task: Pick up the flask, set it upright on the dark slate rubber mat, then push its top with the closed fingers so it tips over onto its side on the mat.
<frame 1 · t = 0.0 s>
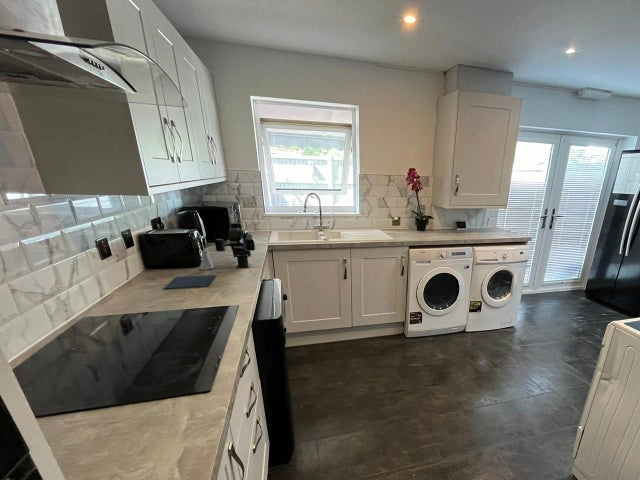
hand: (233, 248, 165), 17 cm above the worktop, tool horizontal, fingers open, 9 cm apart
flask: (207, 268, 186), on the worktop
mat: (191, 282, 163), on the worktop
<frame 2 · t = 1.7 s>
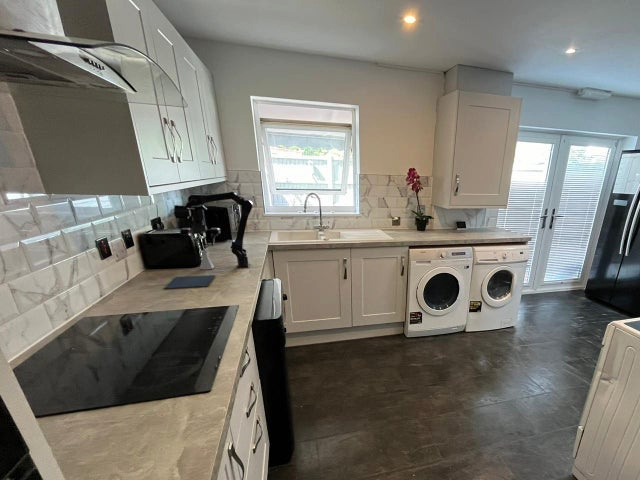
hand: (203, 246, 182), 13 cm above the worktop, tool pointing down, fingers open, 9 cm apart
nothing on the worktop moved.
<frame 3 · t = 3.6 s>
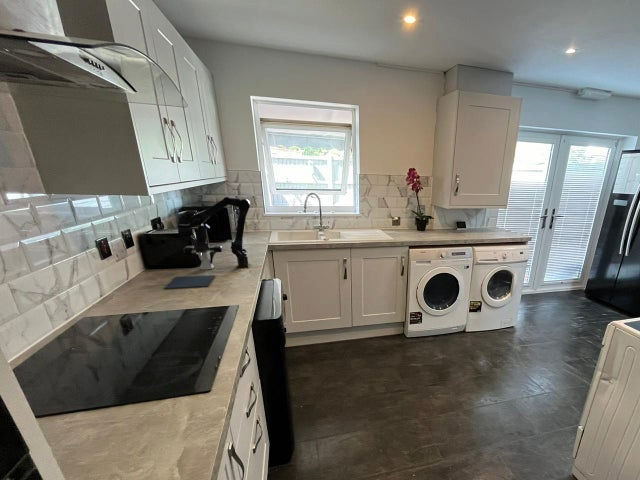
hand: (206, 263, 185), 3 cm above the worktop, tool pointing down, fingers closed on flask, 5 cm apart
flask: (207, 268, 186), on the worktop, touching gripper
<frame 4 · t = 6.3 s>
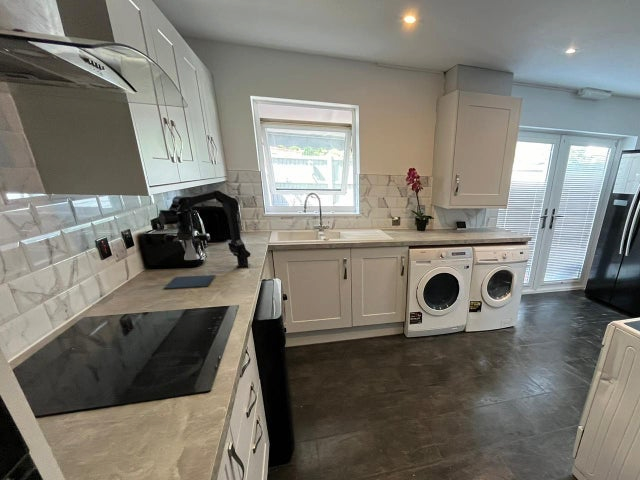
hand: (191, 254, 165), 13 cm above the worktop, tool pointing down, fingers closed on flask, 5 cm apart
flask: (192, 259, 166), point 10 cm above the worktop, touching gripper
when the fingers open (3 cm above the worktop, at t = 9.3 s): flask stays where it is, resting on mat.
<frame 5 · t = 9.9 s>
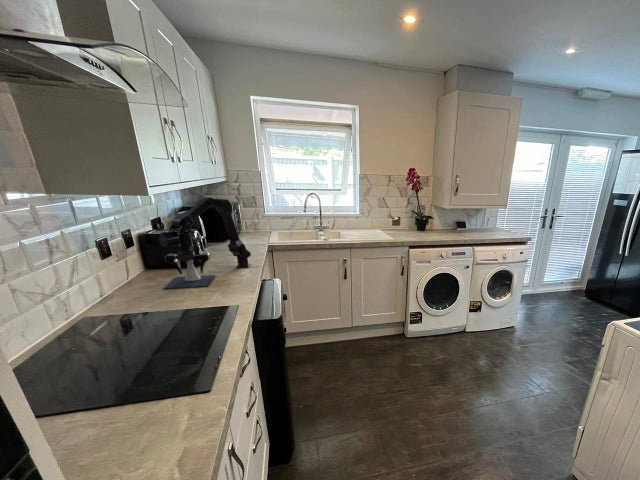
hand: (191, 273, 164), 4 cm above the worktop, tool pointing down, fingers open, 9 cm apart
flask: (193, 279, 165), resting on mat
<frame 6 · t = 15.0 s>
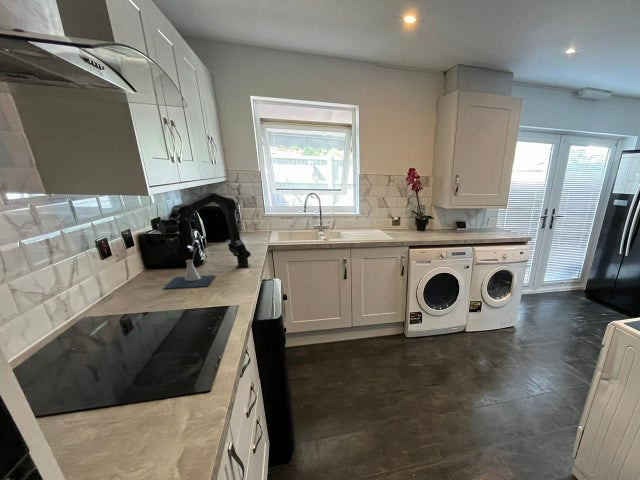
hand: (190, 262, 165), 9 cm above the worktop, tool pointing down, fingers closed
flask: (193, 279, 165), resting on mat, touching gripper
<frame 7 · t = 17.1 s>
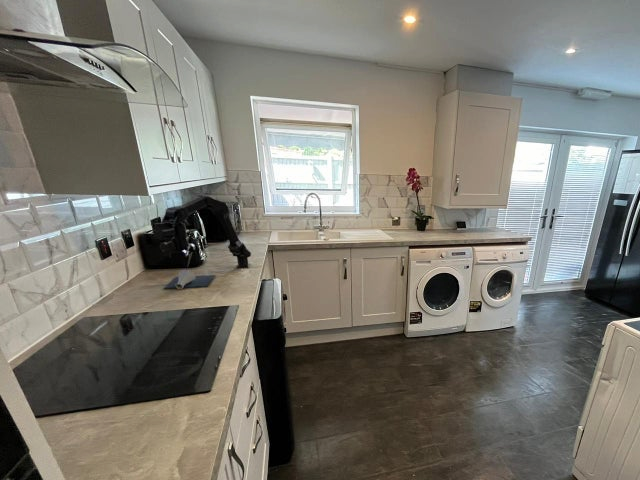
hand: (186, 267, 157), 9 cm above the worktop, tool pointing down, fingers closed
flask: (187, 275, 160), point 4 cm above the worktop, touching mat
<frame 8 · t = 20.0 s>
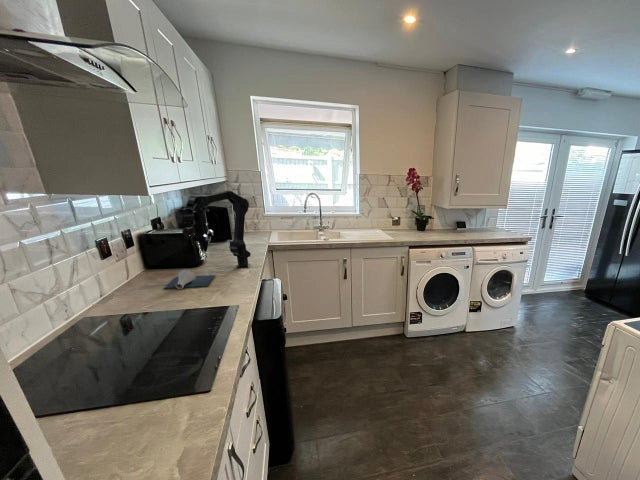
hand: (205, 251, 170), 13 cm above the worktop, tool pointing down, fingers closed
nothing on the worktop moved.
at the end: flask tilted 105°; flask inside the target area on the mat (1.2 cm from its centre), point 4.1 cm above the mat's base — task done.
